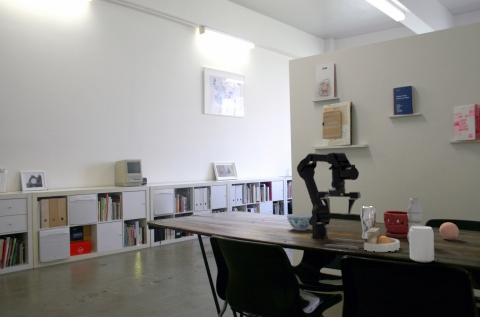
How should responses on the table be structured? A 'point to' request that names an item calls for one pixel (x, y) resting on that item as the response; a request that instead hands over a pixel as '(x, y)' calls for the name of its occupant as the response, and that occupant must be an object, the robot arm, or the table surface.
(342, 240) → the launcher rails
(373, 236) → the launcher plunger
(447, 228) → the toy ball
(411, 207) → the plastic bottle
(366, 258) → the table surface
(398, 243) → the ring
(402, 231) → the plant pot
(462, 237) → the table surface
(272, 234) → the table surface
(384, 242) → the rubber ball
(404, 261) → the table surface
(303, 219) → the chinaware
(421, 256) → the beverage can
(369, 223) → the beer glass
